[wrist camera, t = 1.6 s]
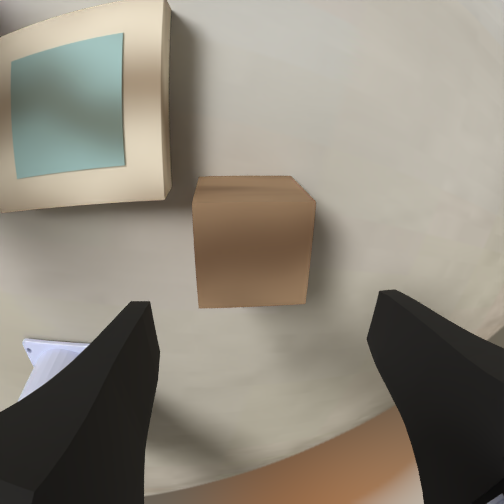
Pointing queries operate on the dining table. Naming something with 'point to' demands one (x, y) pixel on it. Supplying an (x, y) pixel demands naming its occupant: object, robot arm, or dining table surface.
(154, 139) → the base
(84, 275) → the dining table surface
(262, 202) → the walnut cube
